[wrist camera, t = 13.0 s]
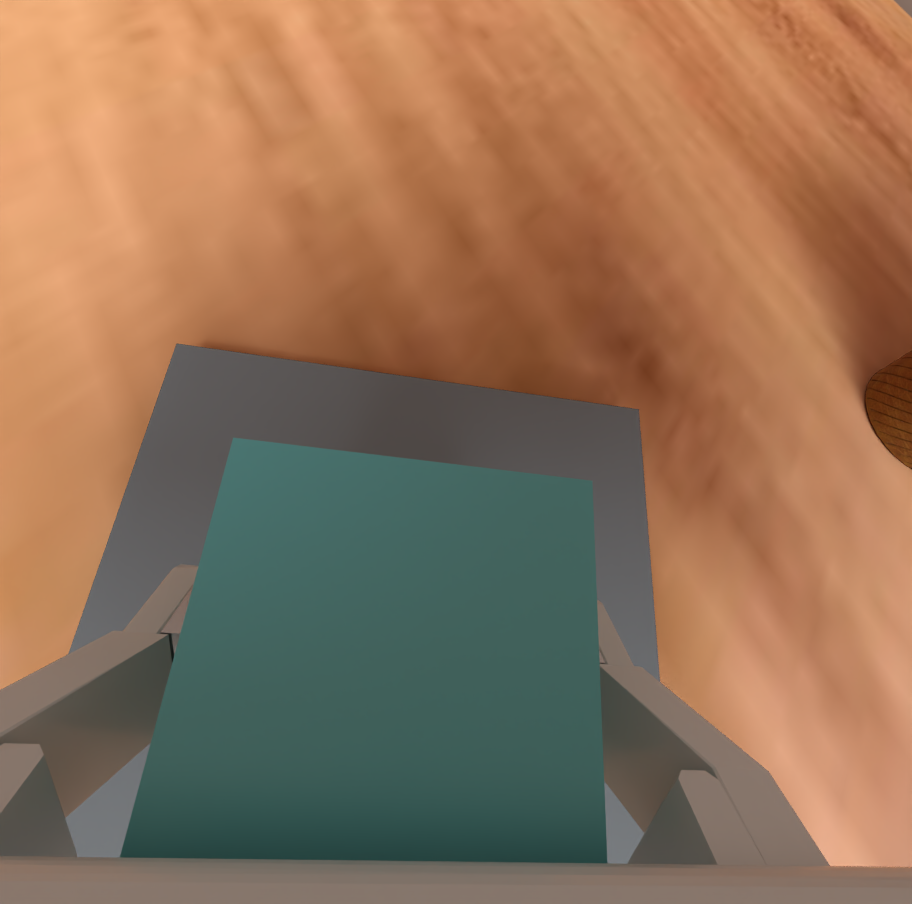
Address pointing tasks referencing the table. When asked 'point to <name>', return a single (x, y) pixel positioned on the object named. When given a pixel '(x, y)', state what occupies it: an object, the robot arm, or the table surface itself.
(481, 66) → the table surface
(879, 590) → the table surface
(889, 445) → the disposable coffee cup
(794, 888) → the robot arm
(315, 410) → the base
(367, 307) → the table surface
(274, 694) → the teal rectangular block
